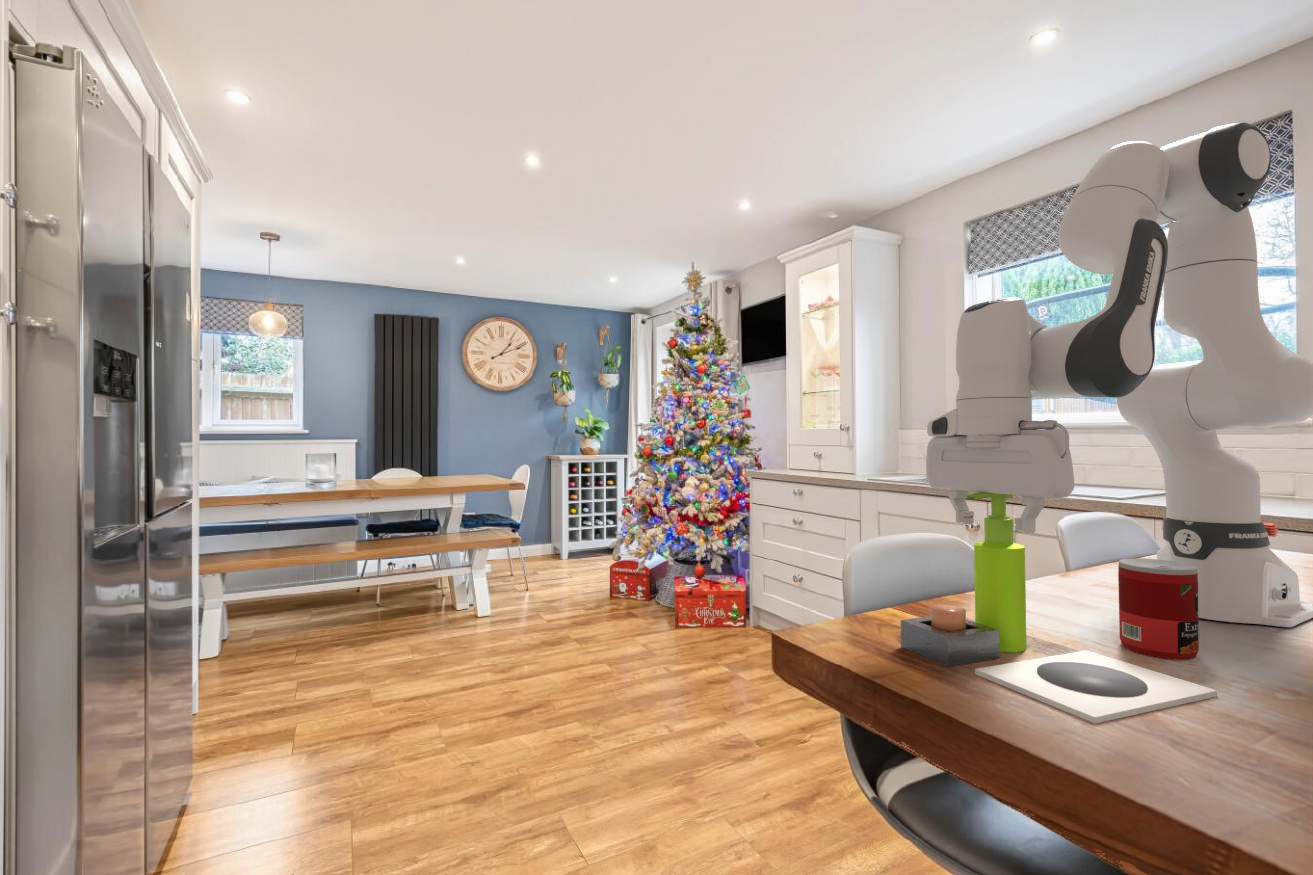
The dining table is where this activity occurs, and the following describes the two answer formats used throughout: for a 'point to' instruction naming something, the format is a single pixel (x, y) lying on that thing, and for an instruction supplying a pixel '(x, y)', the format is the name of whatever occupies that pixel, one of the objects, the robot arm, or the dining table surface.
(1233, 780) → the dining table surface
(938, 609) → the button
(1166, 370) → the robot arm
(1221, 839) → the dining table surface
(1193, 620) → the canned food
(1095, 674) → the white tray
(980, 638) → the button housing
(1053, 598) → the dining table surface
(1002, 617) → the soap dispenser
